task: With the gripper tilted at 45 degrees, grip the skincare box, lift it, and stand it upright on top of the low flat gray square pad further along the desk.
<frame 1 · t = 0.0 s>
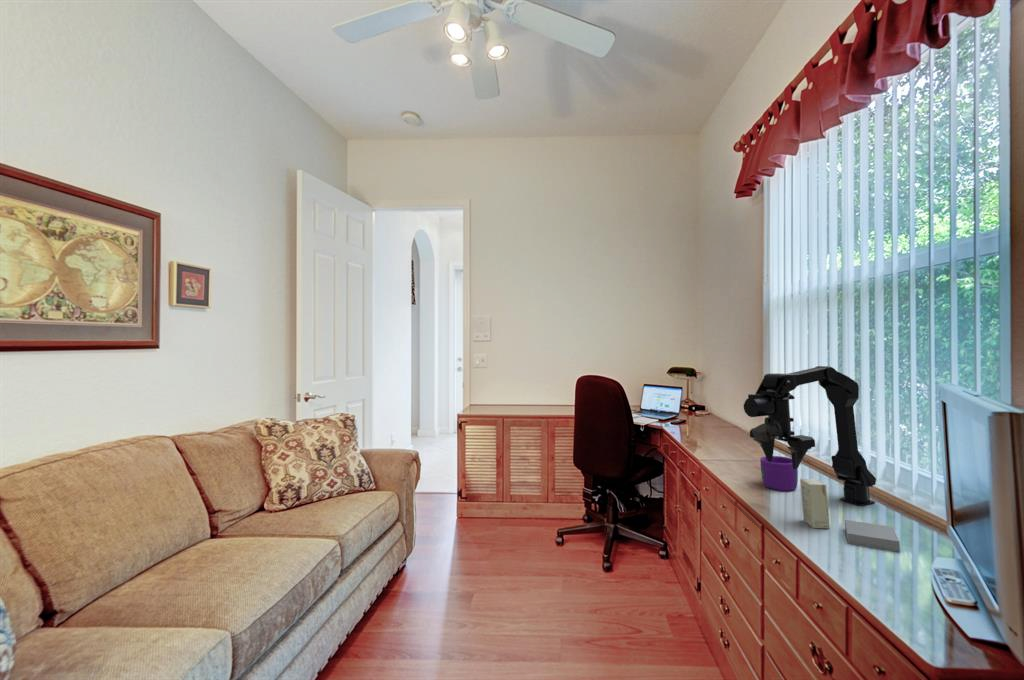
hand: (782, 465, 131), 15 cm above the worktop, tool pointing down, fingers open, 9 cm apart
skincare box: (816, 525, 122), on the worktop
flat gray square pad: (871, 541, 111), on the worktop
purple oval open container: (779, 485, 157), on the worktop
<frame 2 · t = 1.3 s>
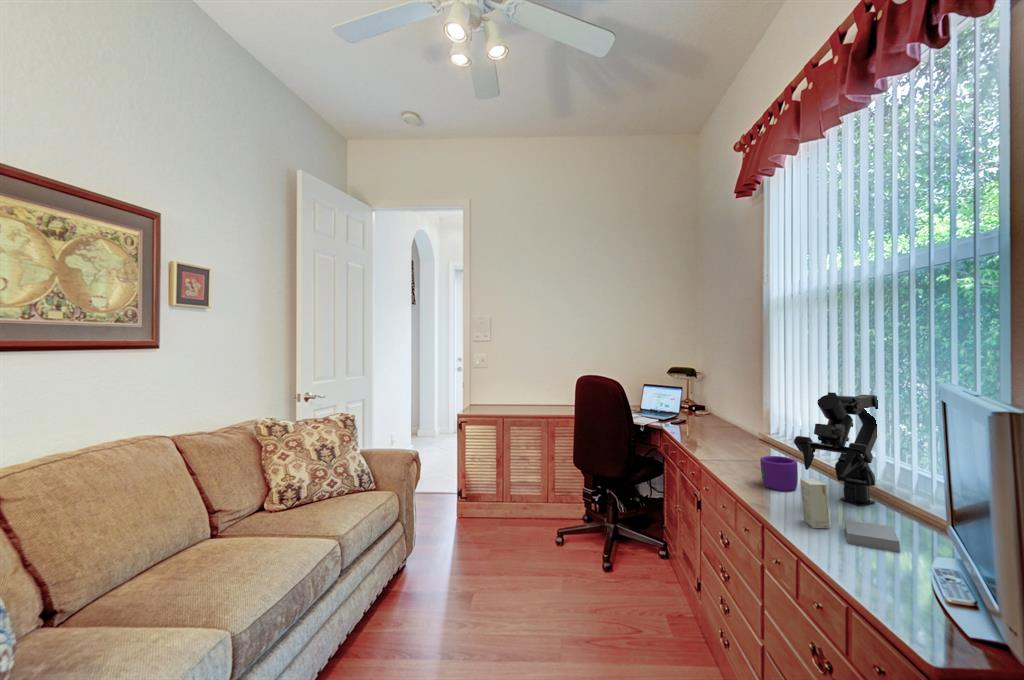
hand: (823, 472, 126), 14 cm above the worktop, tool tilted 45°, fingers open, 9 cm apart
nothing on the worktop moved.
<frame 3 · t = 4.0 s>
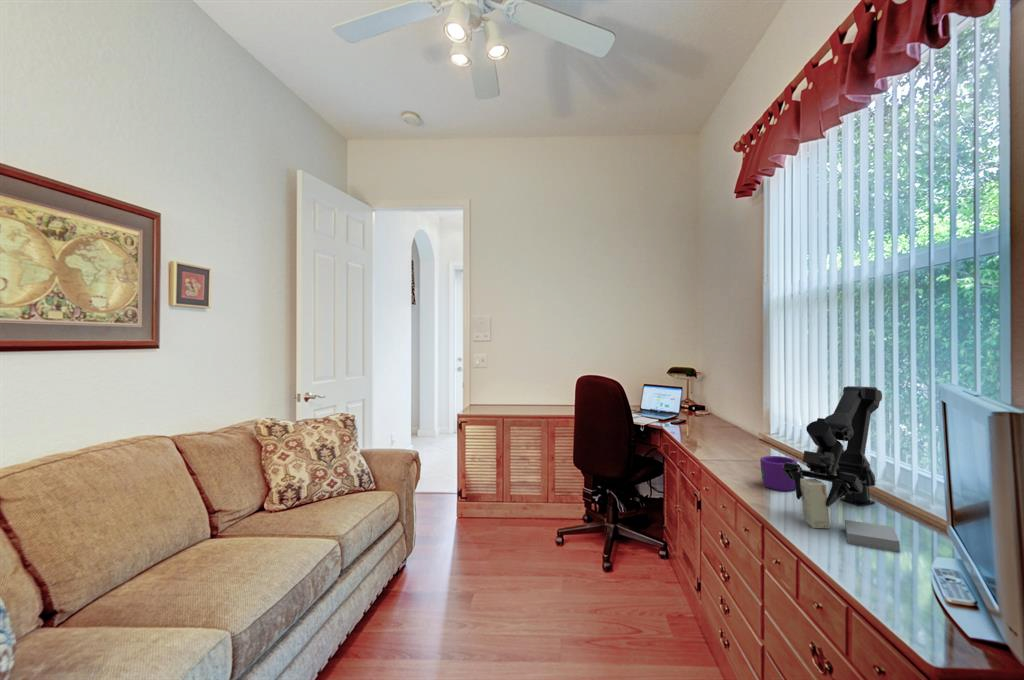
hand: (812, 502, 122), 7 cm above the worktop, tool tilted 45°, fingers closed on skincare box, 7 cm apart
skincare box: (816, 525, 122), on the worktop, touching gripper
everything else where it was.
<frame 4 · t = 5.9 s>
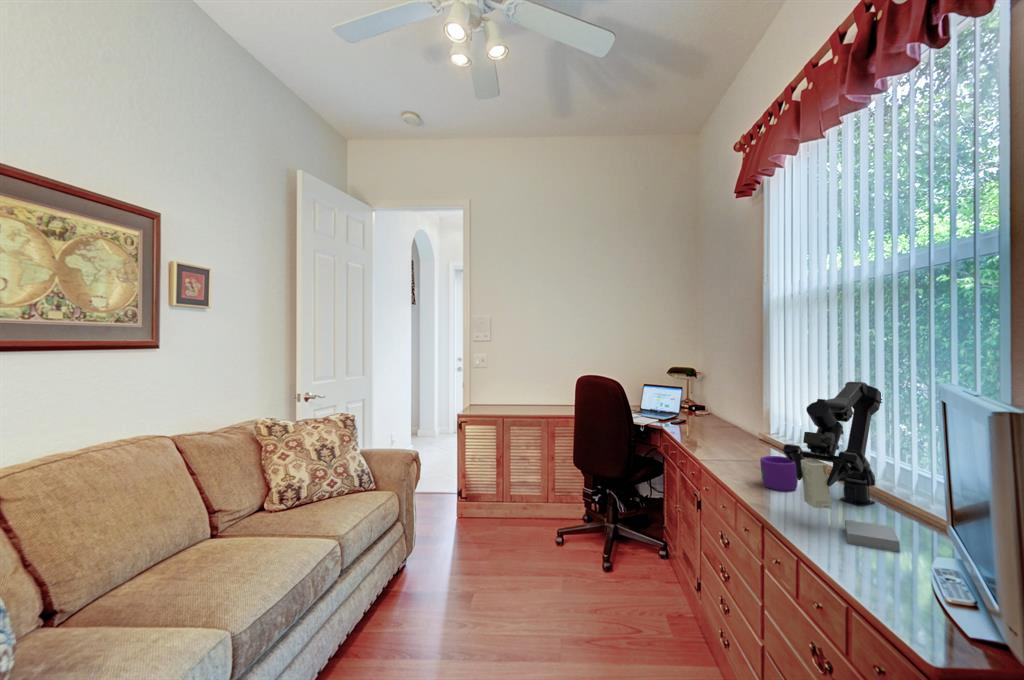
hand: (813, 482, 121), 12 cm above the worktop, tool tilted 45°, fingers closed on skincare box, 7 cm apart
skincare box: (817, 505, 122), point 5 cm above the worktop, touching gripper
everything else where it was.
when the fingers open (11 cm above the worktop, at t = 8.1 s): skincare box drops 2 cm, point 2 cm above the worktop.
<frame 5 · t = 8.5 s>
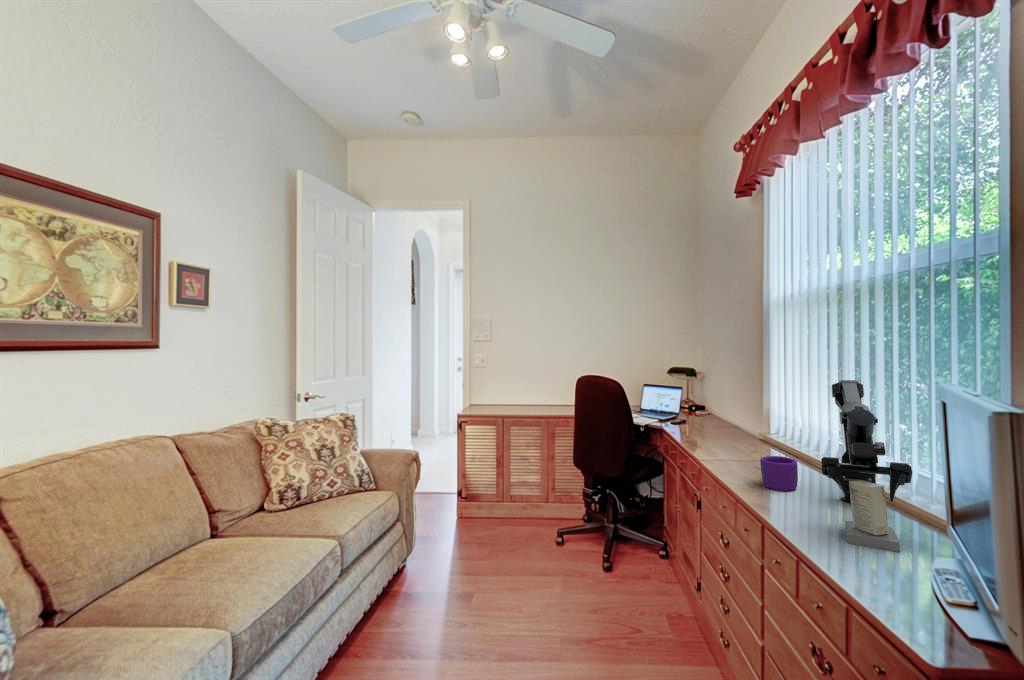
hand: (868, 498, 111), 11 cm above the worktop, tool tilted 45°, fingers open, 9 cm apart
skincare box: (870, 531, 111), point 2 cm above the worktop
everything else where it was.
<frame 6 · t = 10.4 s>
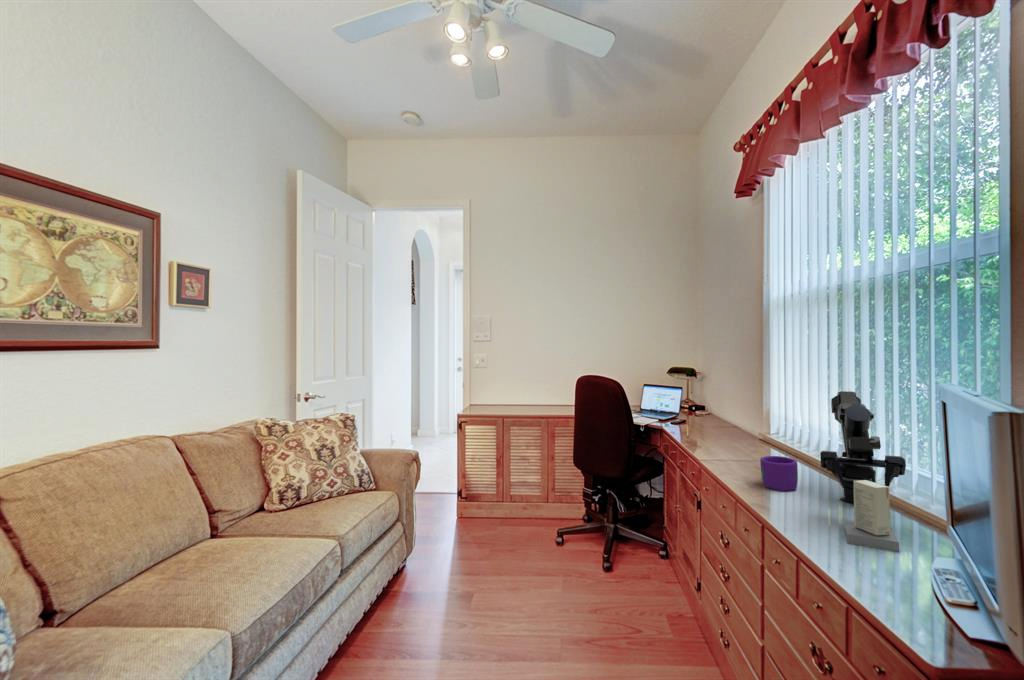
hand: (864, 489, 117), 11 cm above the worktop, tool tilted 45°, fingers open, 9 cm apart
skincare box: (871, 531, 111), point 2 cm above the worktop, touching flat gray square pad
flat gray square pad: (870, 542, 112), on the worktop, touching skincare box
everything else where it was.
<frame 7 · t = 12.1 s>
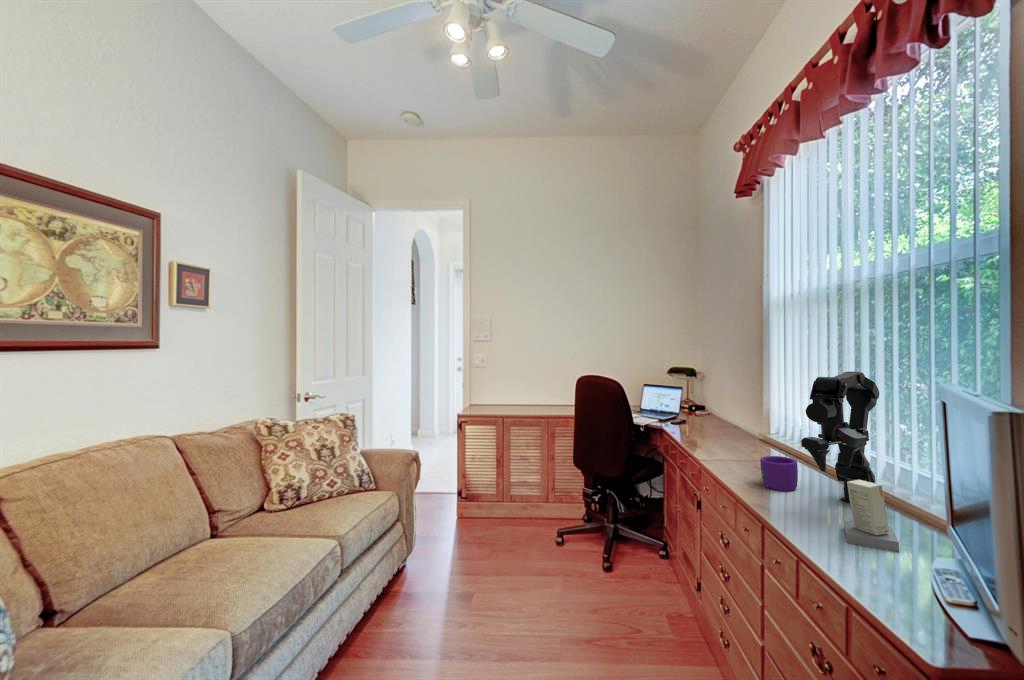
hand: (835, 469, 129), 13 cm above the worktop, tool pointing down, fingers open, 9 cm apart
skincare box: (870, 530, 112), point 2 cm above the worktop
flat gray square pad: (870, 542, 112), on the worktop
everything else where it was.
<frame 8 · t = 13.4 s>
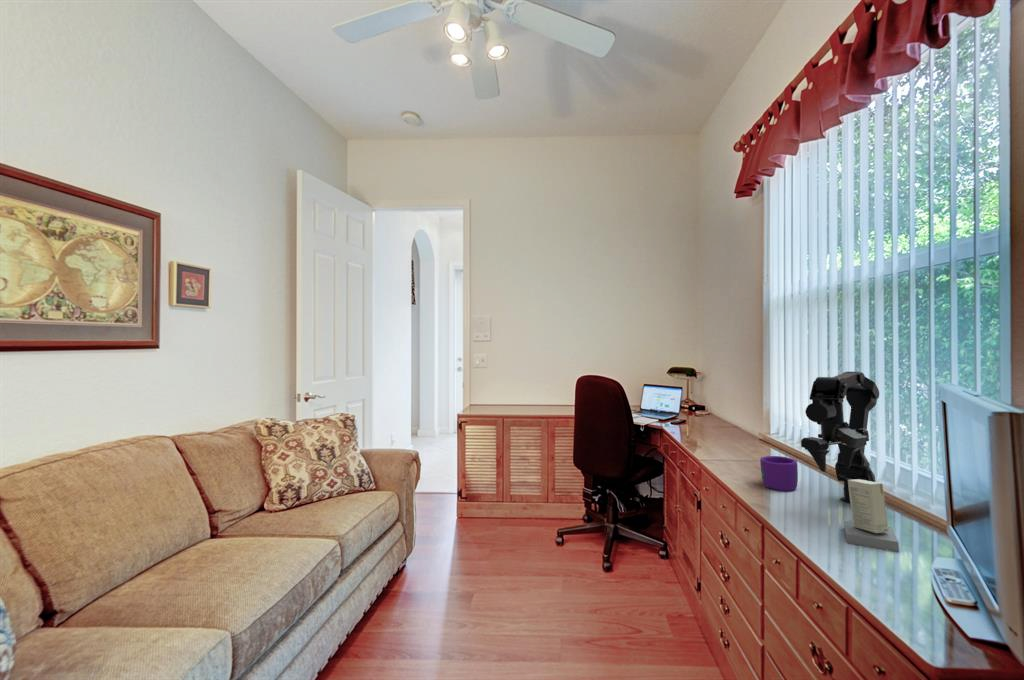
hand: (835, 469, 129), 13 cm above the worktop, tool pointing down, fingers open, 9 cm apart
at the end: skincare box 0.1 cm from the flat gray square pad (horizontally); skincare box point 2.4 cm above the worktop; skincare box tilted 5° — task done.
